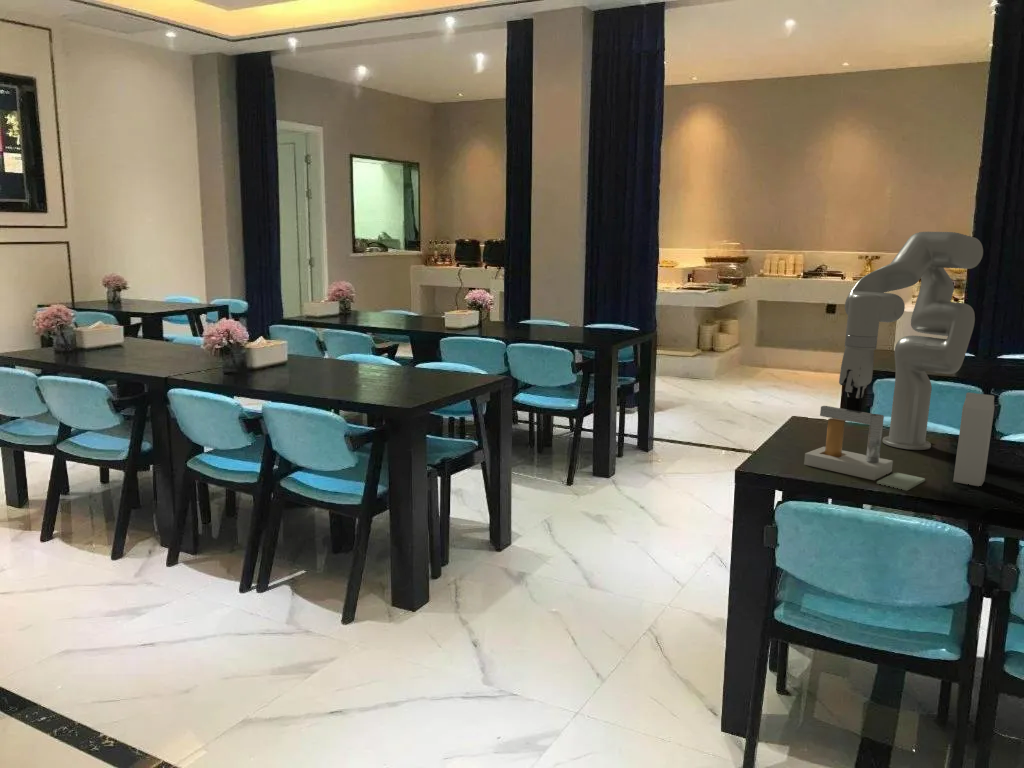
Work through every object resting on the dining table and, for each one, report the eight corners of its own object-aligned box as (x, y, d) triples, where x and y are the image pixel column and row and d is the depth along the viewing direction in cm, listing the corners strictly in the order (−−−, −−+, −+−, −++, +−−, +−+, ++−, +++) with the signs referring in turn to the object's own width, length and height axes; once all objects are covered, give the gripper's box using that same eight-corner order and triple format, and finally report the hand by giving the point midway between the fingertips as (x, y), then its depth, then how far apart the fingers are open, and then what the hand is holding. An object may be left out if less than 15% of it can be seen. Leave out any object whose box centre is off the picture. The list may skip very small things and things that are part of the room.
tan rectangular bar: (827, 461, 213) (832, 417, 211) (842, 465, 210) (847, 420, 208) (821, 464, 210) (825, 419, 208) (836, 468, 207) (840, 422, 205)
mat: (895, 474, 203) (895, 472, 203) (924, 480, 198) (925, 478, 198) (876, 483, 195) (876, 481, 194) (906, 490, 190) (907, 488, 190)
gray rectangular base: (822, 457, 217) (823, 446, 217) (891, 472, 205) (892, 460, 204) (804, 464, 210) (805, 453, 209) (874, 480, 197) (875, 468, 197)
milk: (980, 487, 194) (993, 397, 190) (952, 482, 198) (964, 393, 194) (984, 481, 199) (996, 393, 195) (956, 476, 203) (968, 390, 198)
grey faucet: (820, 448, 213) (825, 405, 211) (880, 461, 203) (885, 415, 200) (815, 450, 211) (820, 406, 209) (876, 463, 201) (881, 417, 198)
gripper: (858, 338, 215) (851, 406, 218) (833, 342, 204) (826, 413, 207) (887, 341, 209) (879, 411, 213) (863, 346, 199) (856, 418, 202)
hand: (853, 412), depth 210 cm, fingers closed
